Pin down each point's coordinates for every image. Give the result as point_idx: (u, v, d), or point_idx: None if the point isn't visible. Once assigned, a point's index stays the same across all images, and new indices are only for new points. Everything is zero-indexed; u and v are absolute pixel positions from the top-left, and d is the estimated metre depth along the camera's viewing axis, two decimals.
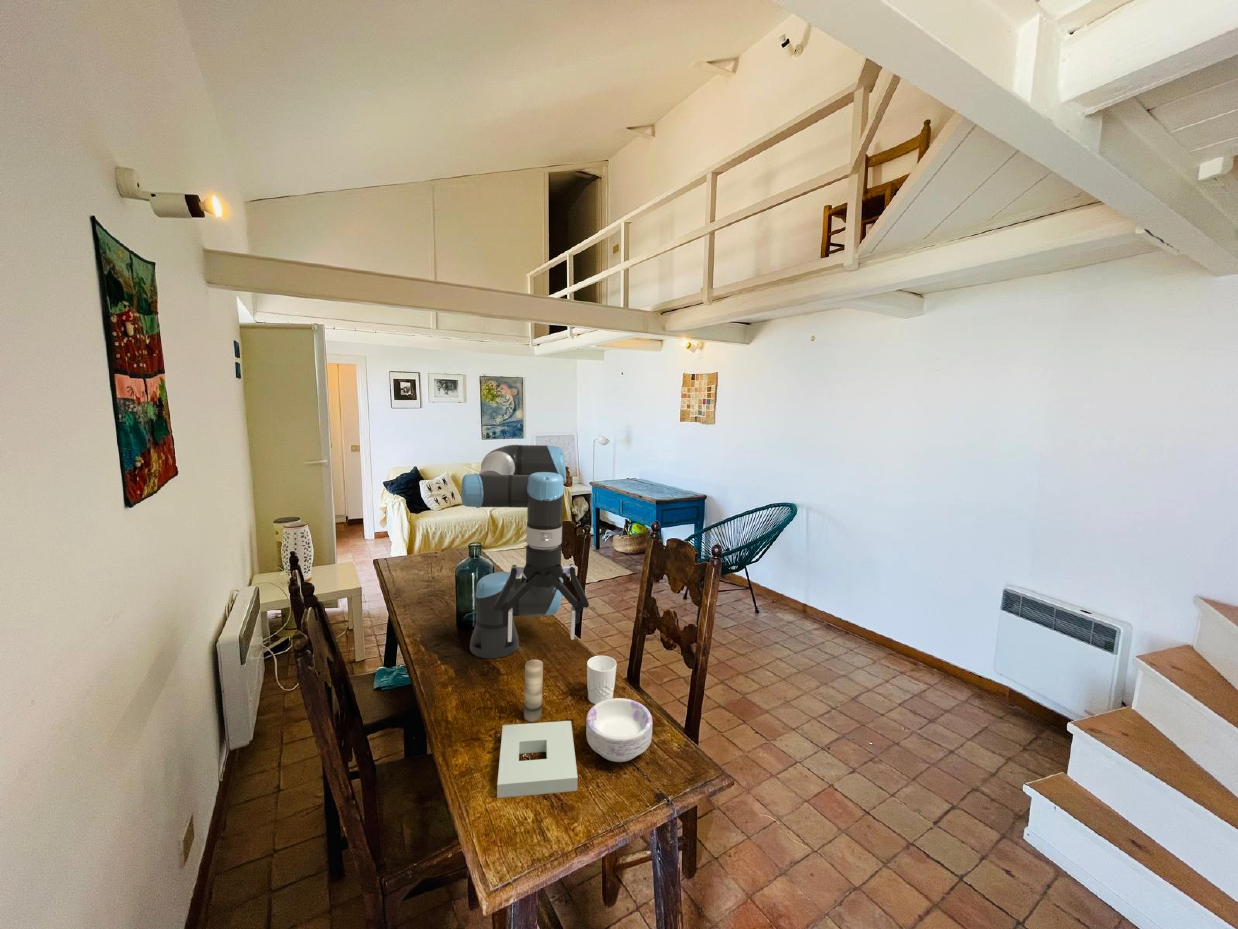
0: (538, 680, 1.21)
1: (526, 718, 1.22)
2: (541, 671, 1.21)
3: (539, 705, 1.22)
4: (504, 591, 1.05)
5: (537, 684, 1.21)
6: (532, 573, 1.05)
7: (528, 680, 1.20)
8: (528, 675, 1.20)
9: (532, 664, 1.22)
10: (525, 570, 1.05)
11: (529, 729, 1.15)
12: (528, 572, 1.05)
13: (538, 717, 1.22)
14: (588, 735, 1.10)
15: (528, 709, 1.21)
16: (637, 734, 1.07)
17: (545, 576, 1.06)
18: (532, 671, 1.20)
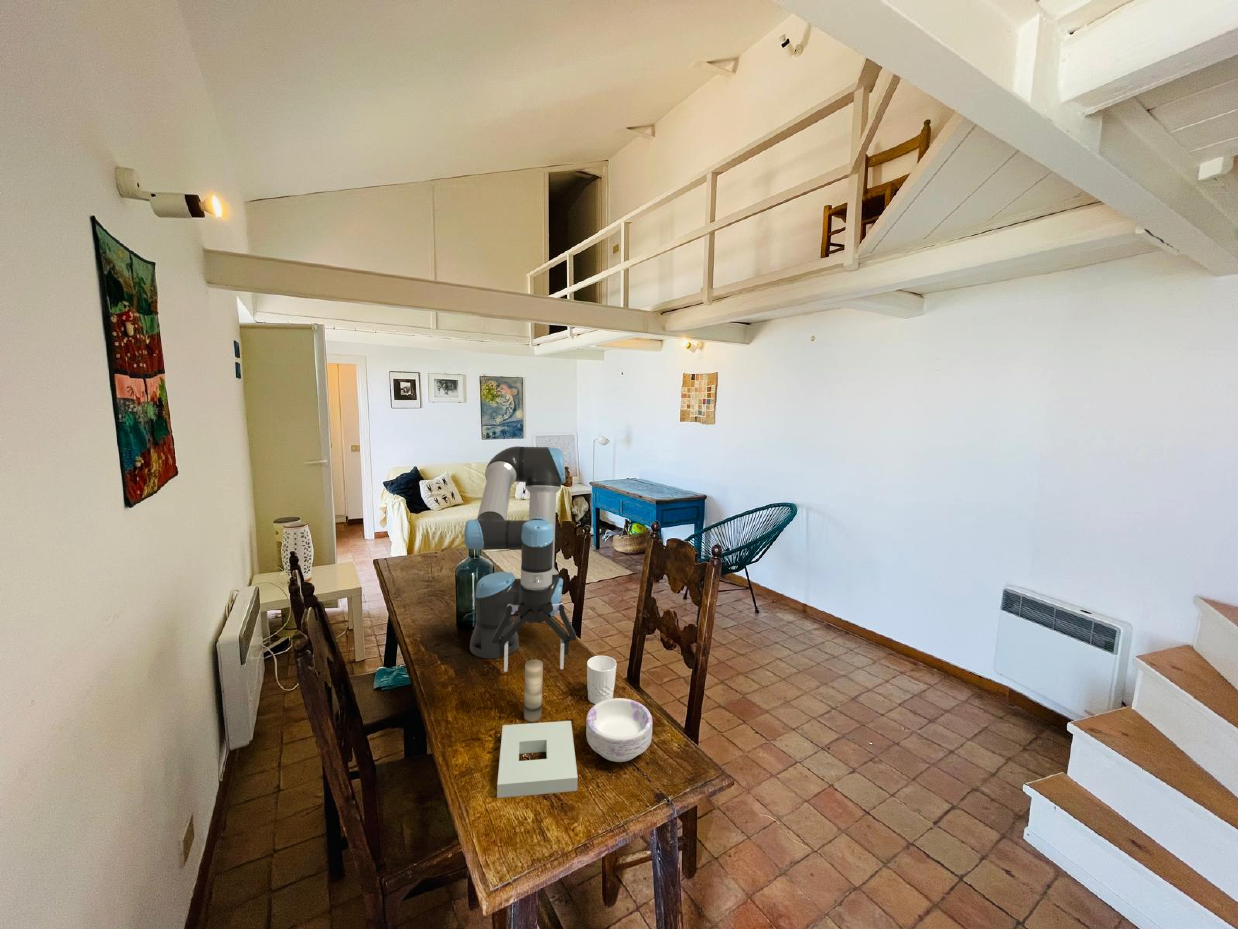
0: (537, 680, 1.21)
1: (526, 718, 1.22)
2: (541, 671, 1.21)
3: (539, 705, 1.22)
4: (501, 626, 1.18)
5: (537, 684, 1.21)
6: (525, 610, 1.19)
7: (528, 680, 1.20)
8: (527, 675, 1.20)
9: (532, 664, 1.22)
10: (519, 608, 1.18)
11: (529, 729, 1.15)
12: (522, 609, 1.18)
13: (538, 717, 1.22)
14: (588, 735, 1.10)
15: (528, 709, 1.21)
16: (637, 734, 1.07)
17: (537, 613, 1.19)
18: (532, 671, 1.20)
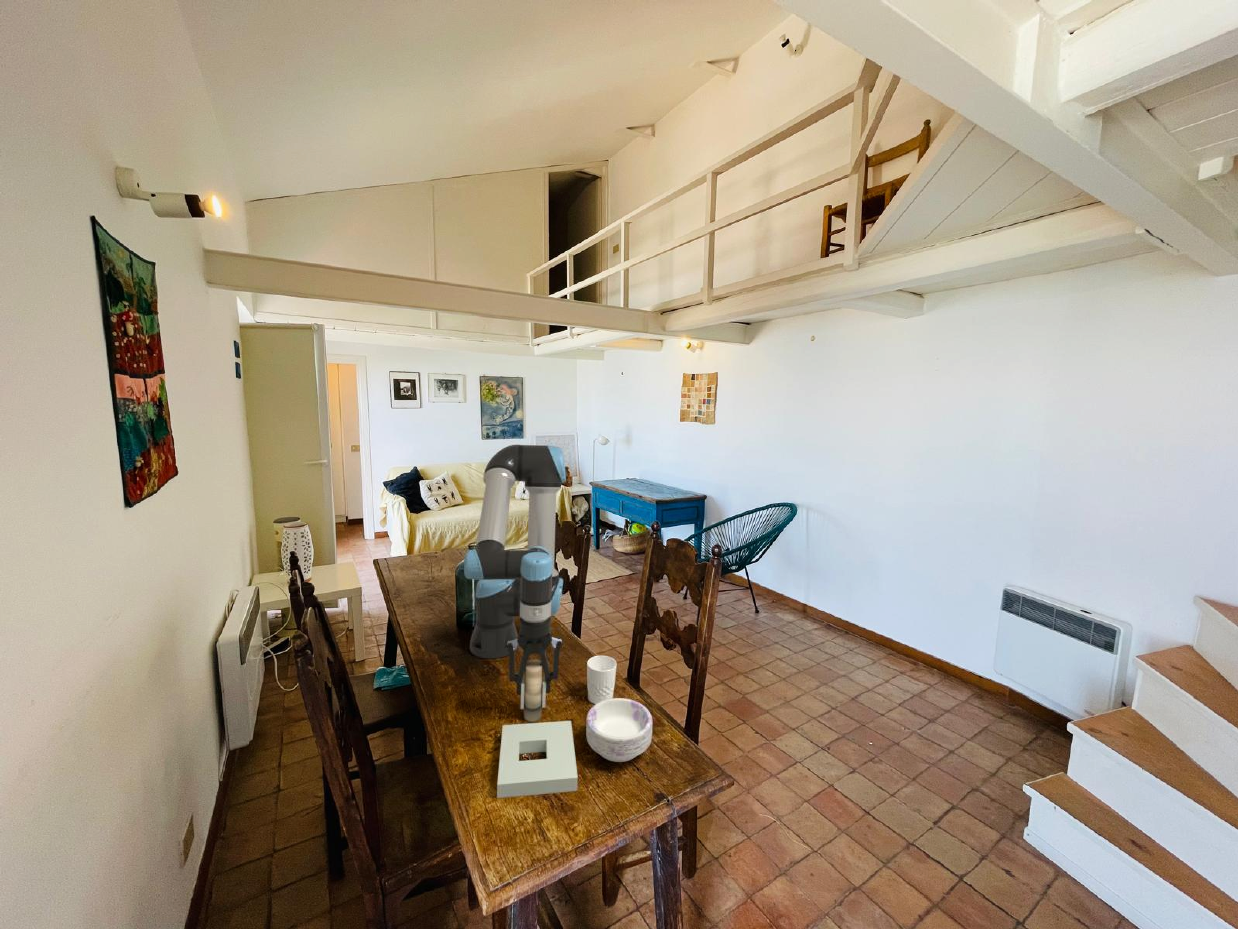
0: (538, 680, 1.21)
1: (526, 718, 1.22)
2: (541, 671, 1.21)
3: (539, 705, 1.22)
4: (510, 665, 1.20)
5: (537, 684, 1.21)
6: (525, 640, 1.20)
7: (528, 680, 1.20)
8: (528, 675, 1.20)
9: (532, 664, 1.22)
10: (518, 641, 1.20)
11: (529, 729, 1.15)
12: (521, 641, 1.20)
13: (538, 717, 1.22)
14: (588, 735, 1.10)
15: (528, 709, 1.21)
16: (637, 734, 1.07)
17: (536, 643, 1.20)
18: (532, 671, 1.20)
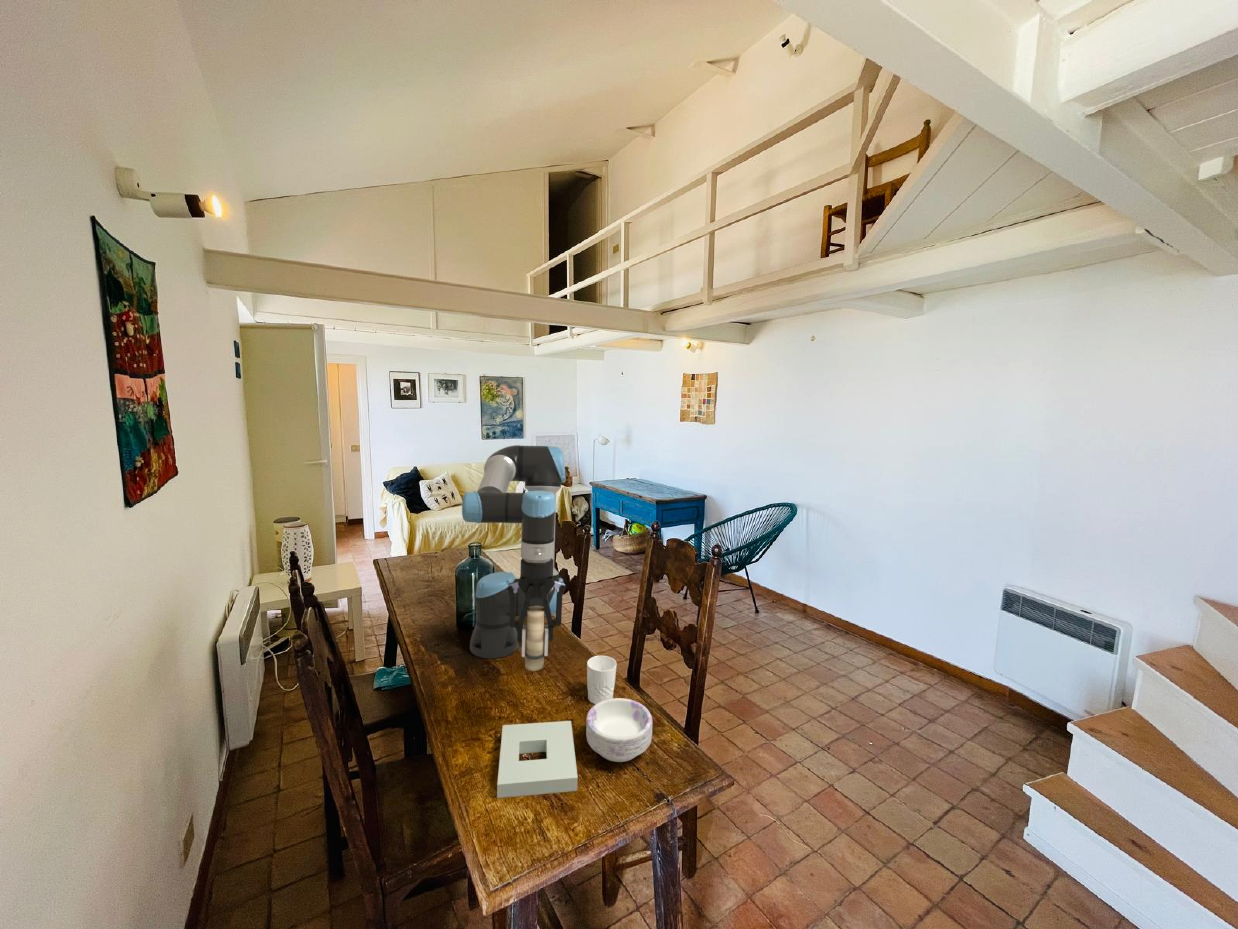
0: (540, 626, 1.14)
1: (527, 667, 1.15)
2: (543, 616, 1.15)
3: (541, 653, 1.16)
4: (511, 609, 1.13)
5: (539, 630, 1.14)
6: (526, 583, 1.13)
7: (530, 626, 1.14)
8: (529, 621, 1.14)
9: (534, 609, 1.15)
10: (519, 583, 1.13)
11: (529, 729, 1.15)
12: (522, 584, 1.13)
13: (540, 666, 1.16)
14: (588, 735, 1.10)
15: (529, 657, 1.15)
16: (637, 734, 1.07)
17: (538, 586, 1.14)
18: (534, 616, 1.13)
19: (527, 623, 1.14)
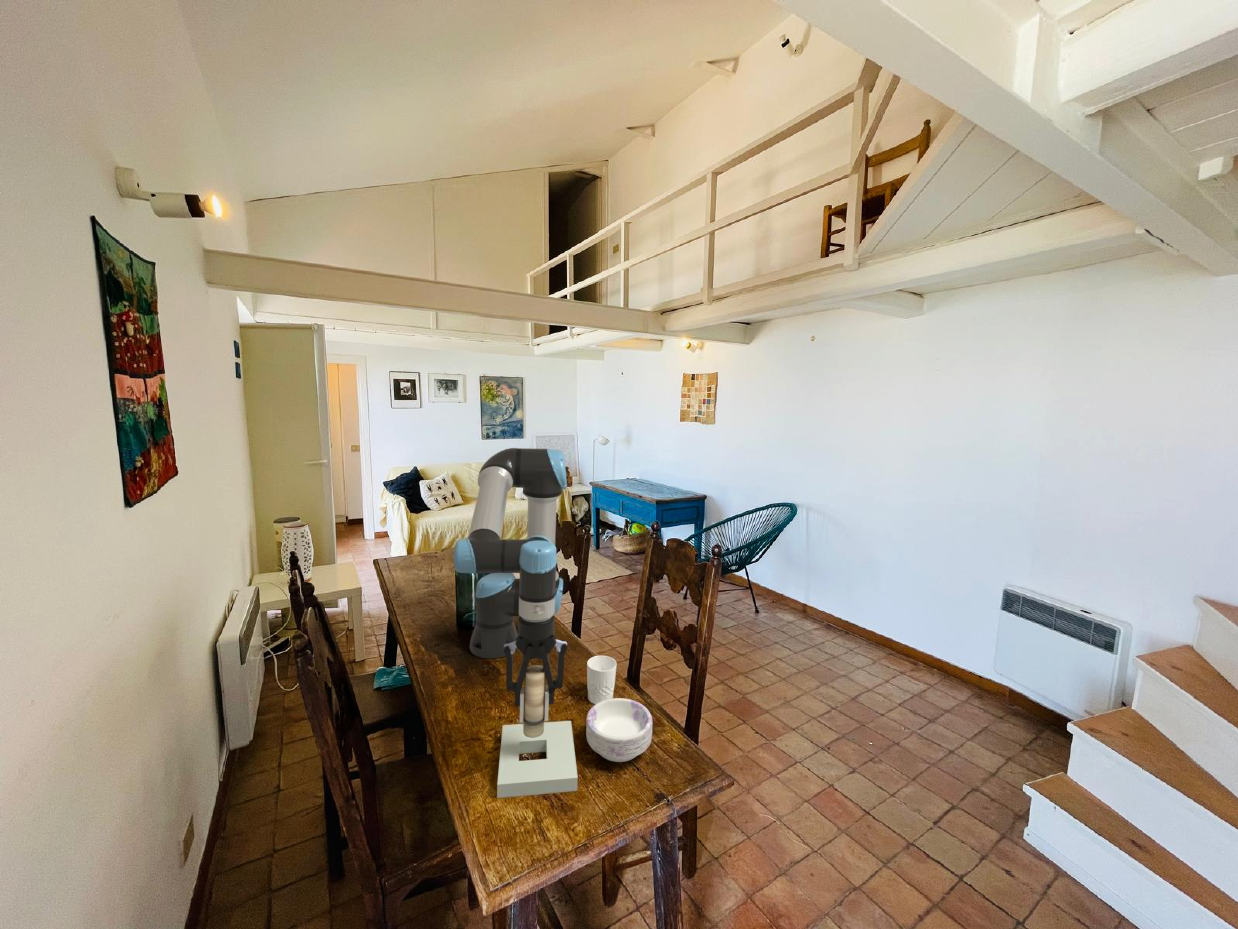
0: (539, 689, 1.04)
1: (526, 733, 1.05)
2: (543, 679, 1.05)
3: (541, 718, 1.05)
4: (507, 671, 1.03)
5: (538, 694, 1.04)
6: (524, 643, 1.03)
7: (529, 690, 1.04)
8: (528, 684, 1.04)
9: (533, 671, 1.05)
10: (517, 644, 1.03)
11: None
12: (520, 644, 1.03)
13: (540, 732, 1.06)
14: (588, 735, 1.10)
15: (528, 723, 1.04)
16: (637, 734, 1.07)
17: (538, 646, 1.04)
18: (533, 679, 1.03)
19: (526, 686, 1.04)
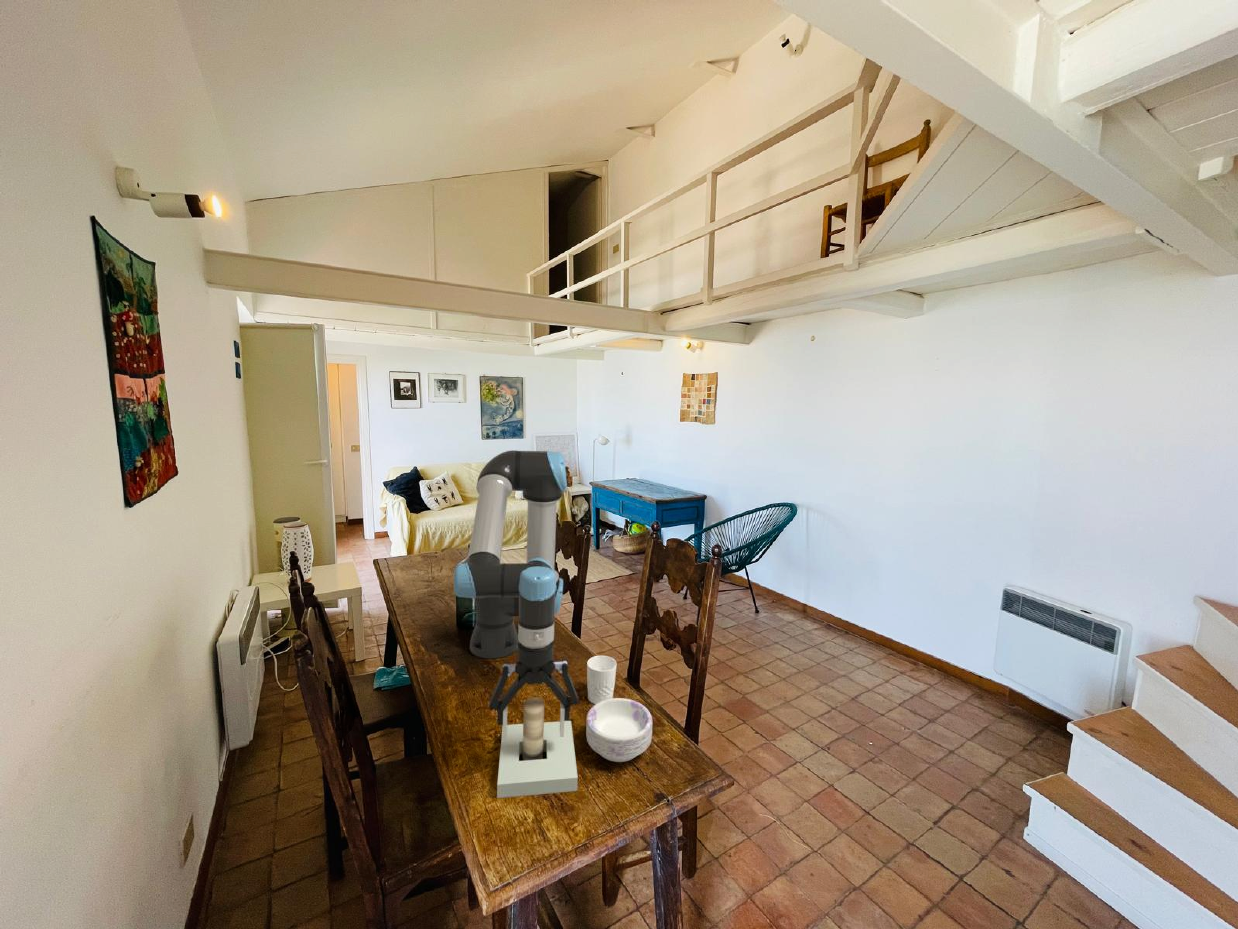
0: (538, 723, 1.05)
1: None
2: (542, 712, 1.06)
3: (540, 751, 1.07)
4: (497, 691, 1.03)
5: (537, 727, 1.05)
6: (524, 670, 1.04)
7: (528, 723, 1.05)
8: (527, 717, 1.05)
9: (532, 704, 1.06)
10: (516, 668, 1.04)
11: None
12: (520, 669, 1.04)
13: None
14: (588, 735, 1.10)
15: (527, 756, 1.06)
16: (637, 734, 1.07)
17: (537, 672, 1.04)
18: (532, 713, 1.04)
19: (525, 719, 1.05)
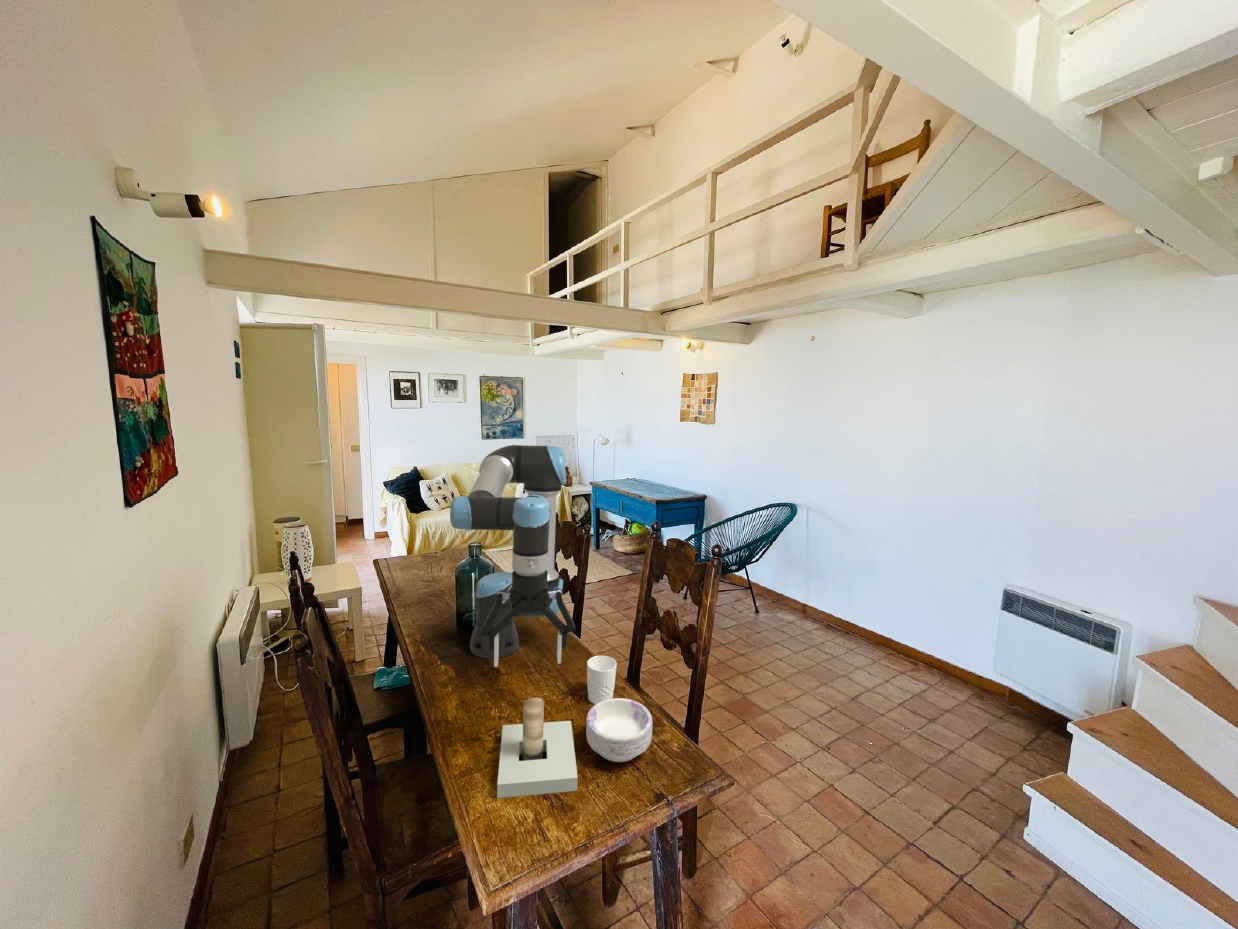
0: (538, 722, 1.05)
1: None
2: (542, 712, 1.06)
3: (540, 750, 1.07)
4: (490, 617, 1.04)
5: (537, 727, 1.05)
6: (518, 599, 1.05)
7: (527, 723, 1.05)
8: (526, 717, 1.05)
9: (532, 704, 1.06)
10: (511, 596, 1.05)
11: None
12: (514, 598, 1.05)
13: None
14: (588, 735, 1.10)
15: (527, 755, 1.06)
16: (637, 734, 1.07)
17: (531, 601, 1.05)
18: (531, 712, 1.04)
19: (524, 719, 1.05)
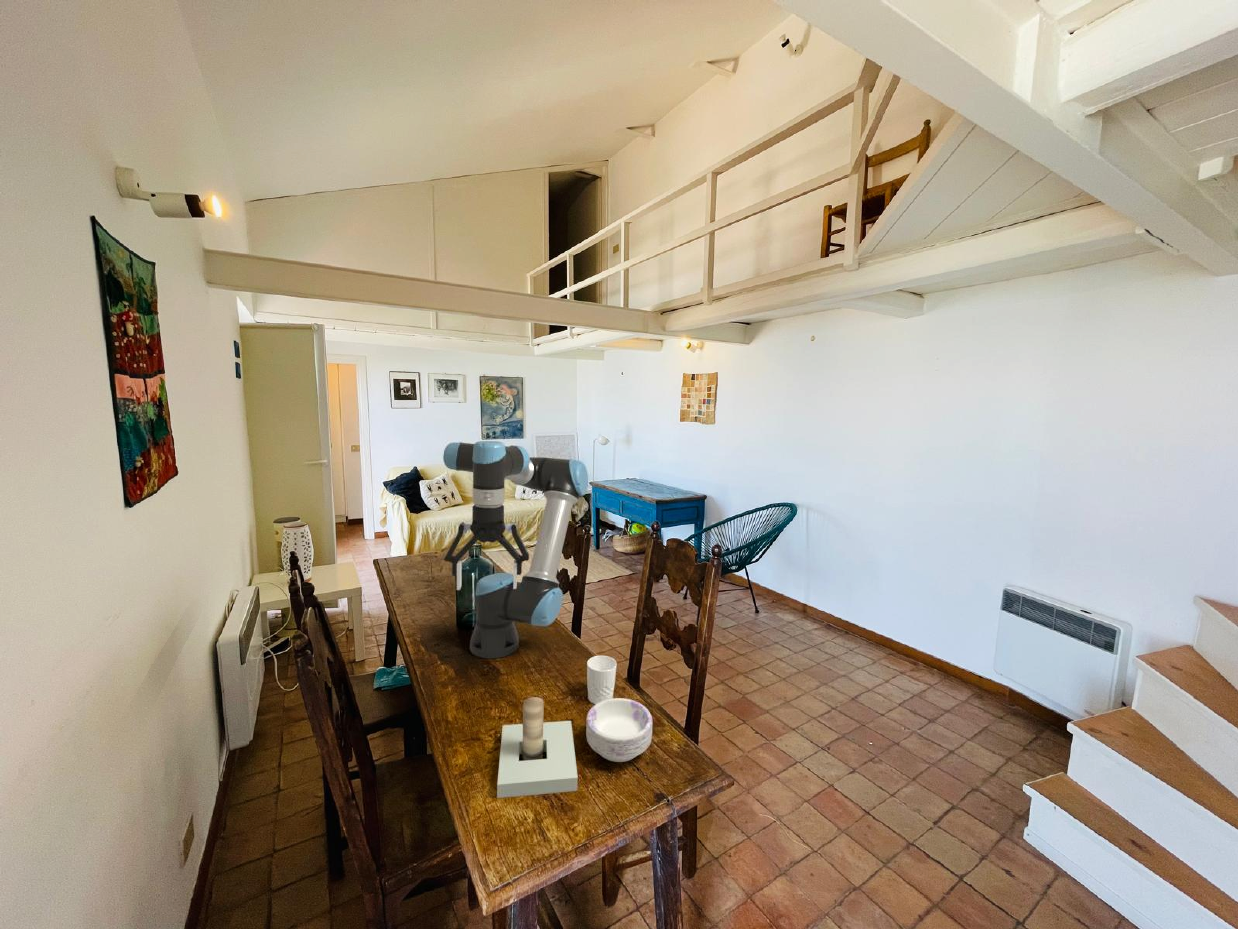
0: (538, 722, 1.05)
1: None
2: (541, 711, 1.06)
3: (540, 750, 1.07)
4: (453, 544, 1.19)
5: (537, 727, 1.05)
6: (478, 529, 1.20)
7: (527, 723, 1.05)
8: (526, 717, 1.05)
9: (531, 703, 1.06)
10: (471, 526, 1.20)
11: None
12: (474, 528, 1.20)
13: None
14: (588, 735, 1.10)
15: (527, 755, 1.06)
16: (637, 734, 1.07)
17: (489, 532, 1.21)
18: (531, 712, 1.04)
19: (524, 719, 1.06)
